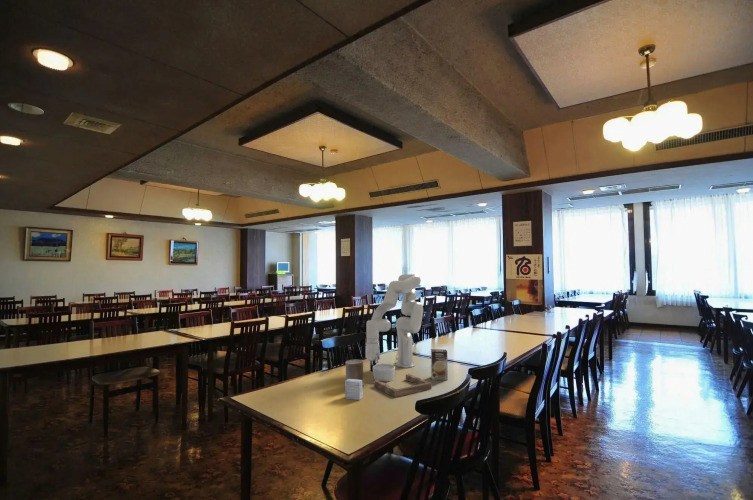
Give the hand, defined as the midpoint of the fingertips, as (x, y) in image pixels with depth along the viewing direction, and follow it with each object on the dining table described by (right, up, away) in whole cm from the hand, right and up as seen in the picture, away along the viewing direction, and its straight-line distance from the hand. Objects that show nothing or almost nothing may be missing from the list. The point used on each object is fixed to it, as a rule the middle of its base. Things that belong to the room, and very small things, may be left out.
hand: (373, 371), depth 218 cm
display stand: (+16, 0, -27) cm, 31 cm away
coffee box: (+39, -1, -12) cm, 40 cm away
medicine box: (-9, 0, -41) cm, 42 cm away
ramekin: (+6, -1, -11) cm, 13 cm away
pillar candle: (-10, -1, -24) cm, 26 cm away
